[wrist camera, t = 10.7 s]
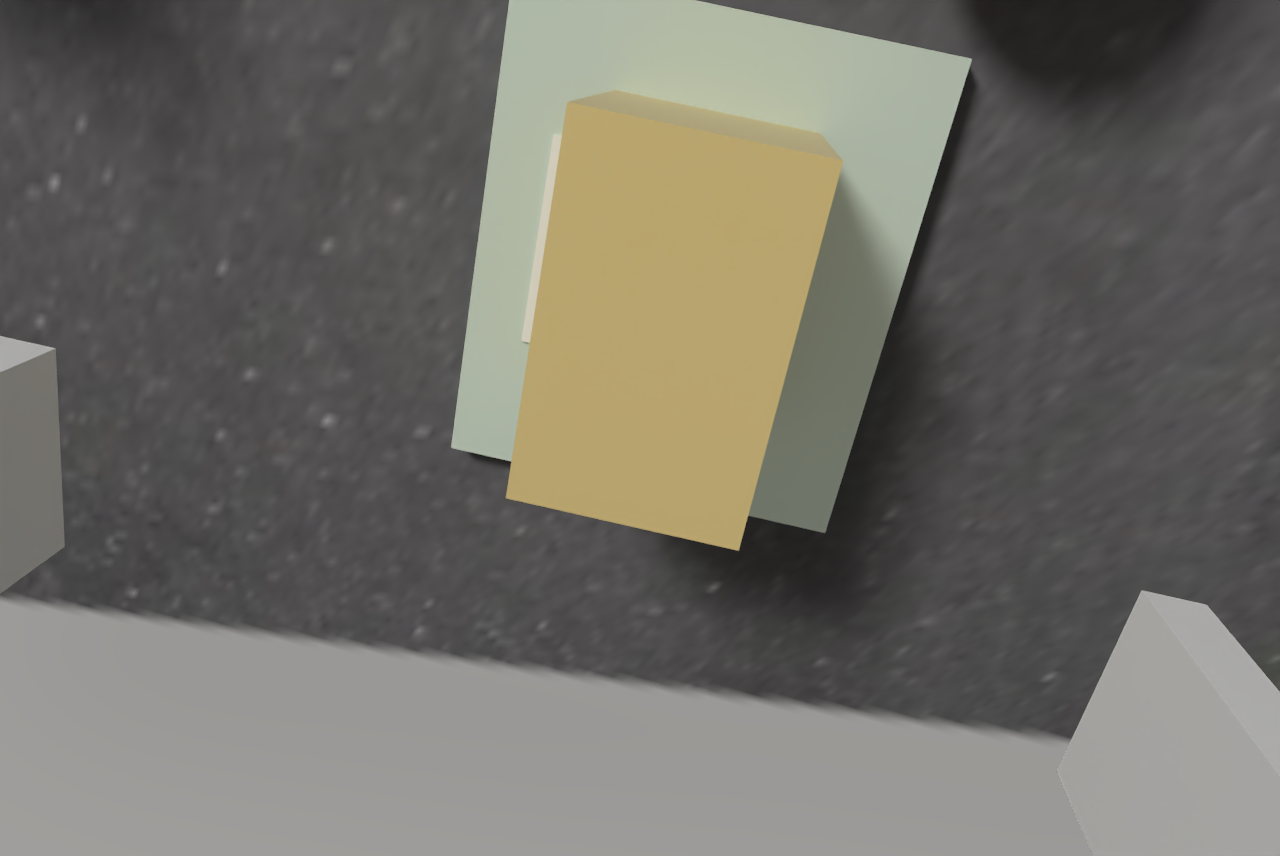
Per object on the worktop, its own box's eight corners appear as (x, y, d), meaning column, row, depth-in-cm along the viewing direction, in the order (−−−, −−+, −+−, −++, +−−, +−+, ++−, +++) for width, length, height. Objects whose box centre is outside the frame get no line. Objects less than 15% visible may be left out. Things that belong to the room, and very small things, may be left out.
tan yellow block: (561, 398, 29) (505, 498, 22) (614, 89, 25) (566, 101, 19) (741, 438, 29) (738, 550, 22) (820, 133, 25) (843, 160, 19)
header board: (458, 438, 30) (410, 500, 26) (521, -36, 25) (474, -54, 21) (823, 521, 30) (835, 598, 26) (965, 58, 25) (1008, 59, 21)
